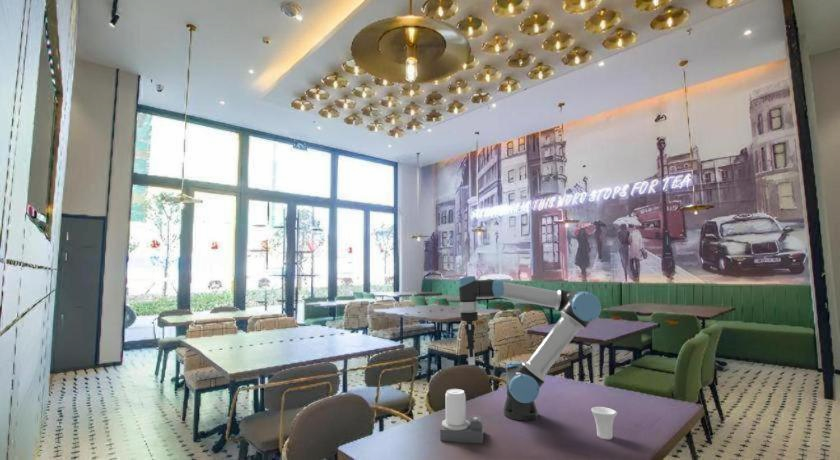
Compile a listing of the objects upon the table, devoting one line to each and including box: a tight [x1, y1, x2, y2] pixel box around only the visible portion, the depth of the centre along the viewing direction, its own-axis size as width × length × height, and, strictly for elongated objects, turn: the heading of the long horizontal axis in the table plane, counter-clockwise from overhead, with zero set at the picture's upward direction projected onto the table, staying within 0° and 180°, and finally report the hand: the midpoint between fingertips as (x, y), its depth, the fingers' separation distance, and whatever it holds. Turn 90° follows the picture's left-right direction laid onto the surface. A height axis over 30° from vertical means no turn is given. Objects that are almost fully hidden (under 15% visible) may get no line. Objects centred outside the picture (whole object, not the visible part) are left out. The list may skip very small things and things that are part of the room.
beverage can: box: [444, 388, 467, 426], centre depth 156 cm, size 8×8×12 cm
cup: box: [591, 406, 618, 440], centre depth 153 cm, size 9×9×10 cm
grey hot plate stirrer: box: [439, 414, 484, 444], centre depth 155 cm, size 16×11×8 cm
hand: (471, 361), depth 170 cm, fingers open, 13 cm apart
